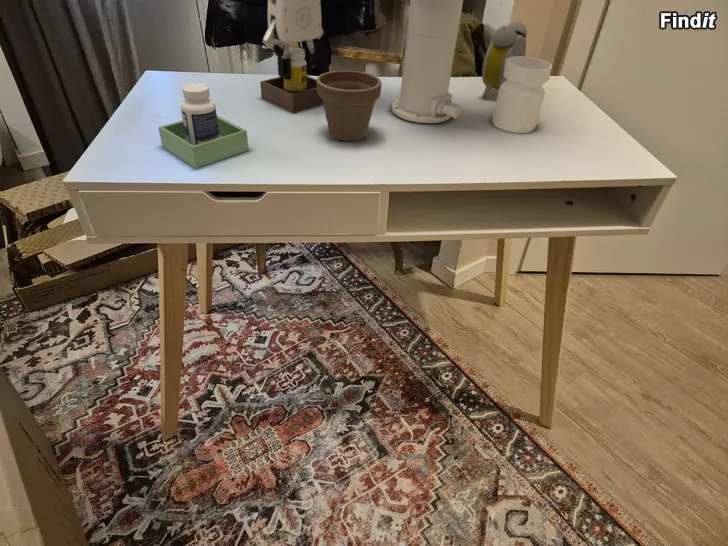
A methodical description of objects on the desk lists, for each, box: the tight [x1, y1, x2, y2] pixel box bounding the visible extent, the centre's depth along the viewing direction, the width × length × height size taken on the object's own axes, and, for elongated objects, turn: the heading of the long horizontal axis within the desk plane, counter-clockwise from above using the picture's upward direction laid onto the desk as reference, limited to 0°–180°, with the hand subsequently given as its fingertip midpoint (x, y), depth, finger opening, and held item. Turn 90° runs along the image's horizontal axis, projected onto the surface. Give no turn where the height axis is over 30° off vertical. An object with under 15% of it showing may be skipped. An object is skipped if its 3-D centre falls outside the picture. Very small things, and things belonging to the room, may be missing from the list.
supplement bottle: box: [284, 47, 308, 94], centre depth 101 cm, size 5×5×8 cm
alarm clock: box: [481, 20, 528, 99], centre depth 110 cm, size 12×7×15 cm, turn 144°
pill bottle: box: [180, 83, 220, 146], centre depth 81 cm, size 5×5×10 cm
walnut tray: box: [259, 75, 323, 114], centre depth 104 cm, size 10×10×4 cm
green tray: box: [158, 115, 249, 169], centre depth 84 cm, size 10×10×4 cm
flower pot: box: [316, 69, 382, 142], centre depth 90 cm, size 12×11×10 cm
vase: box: [491, 56, 553, 134], centre depth 98 cm, size 9×9×12 cm
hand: (295, 74), depth 101 cm, fingers closed on supplement bottle, 4 cm apart
